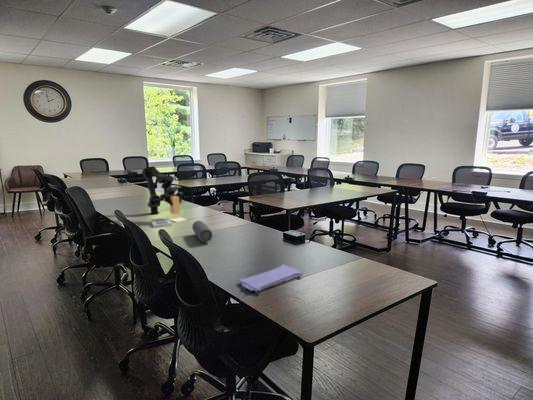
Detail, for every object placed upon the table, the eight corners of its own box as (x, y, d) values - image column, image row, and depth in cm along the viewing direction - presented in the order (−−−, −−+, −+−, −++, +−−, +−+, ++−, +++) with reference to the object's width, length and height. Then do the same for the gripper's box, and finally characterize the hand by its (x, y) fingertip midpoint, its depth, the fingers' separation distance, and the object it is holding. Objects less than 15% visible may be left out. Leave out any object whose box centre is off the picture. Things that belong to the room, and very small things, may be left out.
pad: (169, 220, 262) (169, 219, 262) (179, 217, 270) (179, 217, 270) (176, 222, 256) (176, 221, 256) (187, 220, 264) (187, 219, 263)
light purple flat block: (234, 285, 152) (255, 297, 141) (234, 276, 151) (255, 287, 140) (282, 268, 171) (303, 277, 160) (282, 260, 171) (304, 269, 160)
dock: (150, 221, 258) (150, 218, 257) (167, 220, 263) (167, 217, 263) (153, 227, 242) (153, 224, 241) (172, 225, 247) (171, 222, 247)
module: (170, 213, 260) (169, 196, 257) (176, 212, 263) (175, 195, 261) (173, 214, 256) (173, 197, 254) (179, 213, 260) (178, 196, 257)
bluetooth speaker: (191, 234, 226) (191, 220, 224) (205, 233, 229) (204, 219, 227) (198, 244, 205) (198, 229, 203) (213, 243, 209) (213, 227, 207)
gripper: (159, 184, 251) (168, 200, 246) (181, 181, 265) (189, 197, 259) (155, 192, 258) (163, 209, 253) (176, 190, 271) (184, 205, 266)
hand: (175, 204), depth 258 cm, fingers closed on module, 5 cm apart
